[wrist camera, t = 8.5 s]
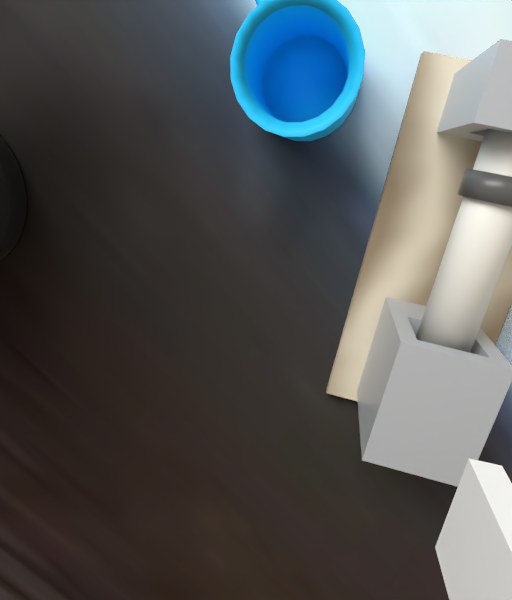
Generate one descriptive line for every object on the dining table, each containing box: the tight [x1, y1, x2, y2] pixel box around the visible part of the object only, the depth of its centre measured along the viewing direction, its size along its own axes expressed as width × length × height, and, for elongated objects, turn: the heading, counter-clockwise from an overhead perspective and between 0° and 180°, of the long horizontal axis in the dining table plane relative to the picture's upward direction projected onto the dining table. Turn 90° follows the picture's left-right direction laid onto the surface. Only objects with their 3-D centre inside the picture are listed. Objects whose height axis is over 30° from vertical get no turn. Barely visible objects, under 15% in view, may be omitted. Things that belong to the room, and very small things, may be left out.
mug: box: [230, 0, 365, 141], centre depth 31 cm, size 12×8×8 cm
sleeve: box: [357, 297, 512, 487], centre depth 35 cm, size 9×7×10 cm
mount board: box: [327, 51, 512, 401], centre depth 37 cm, size 12×28×1 cm, turn 168°
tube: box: [416, 128, 512, 353], centre depth 29 cm, size 18×4×4 cm, turn 169°
